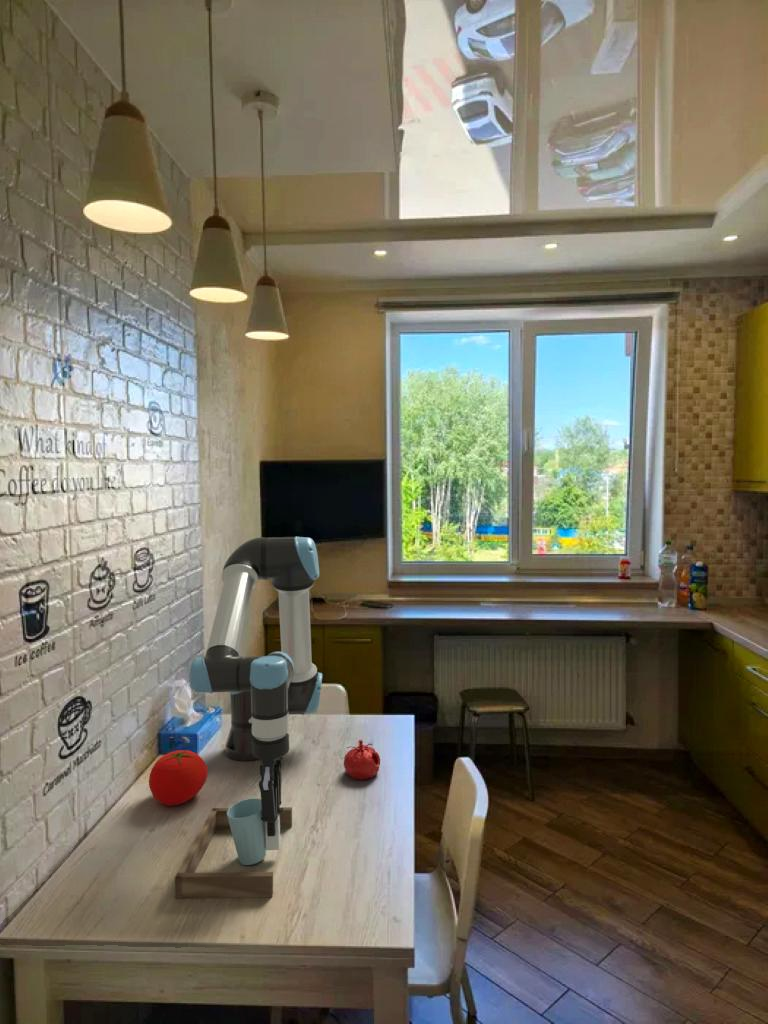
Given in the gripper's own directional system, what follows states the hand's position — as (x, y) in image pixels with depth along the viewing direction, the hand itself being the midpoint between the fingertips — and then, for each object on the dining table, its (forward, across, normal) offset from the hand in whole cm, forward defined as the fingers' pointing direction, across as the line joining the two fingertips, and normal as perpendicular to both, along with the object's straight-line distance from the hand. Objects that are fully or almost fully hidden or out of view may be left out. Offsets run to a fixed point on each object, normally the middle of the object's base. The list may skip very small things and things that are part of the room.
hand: (273, 847), depth 121 cm
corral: (+2, 0, -7) cm, 7 cm away
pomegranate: (+2, -36, +17) cm, 40 cm away
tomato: (+2, -24, -28) cm, 37 cm away
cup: (+2, 0, -4) cm, 5 cm away
